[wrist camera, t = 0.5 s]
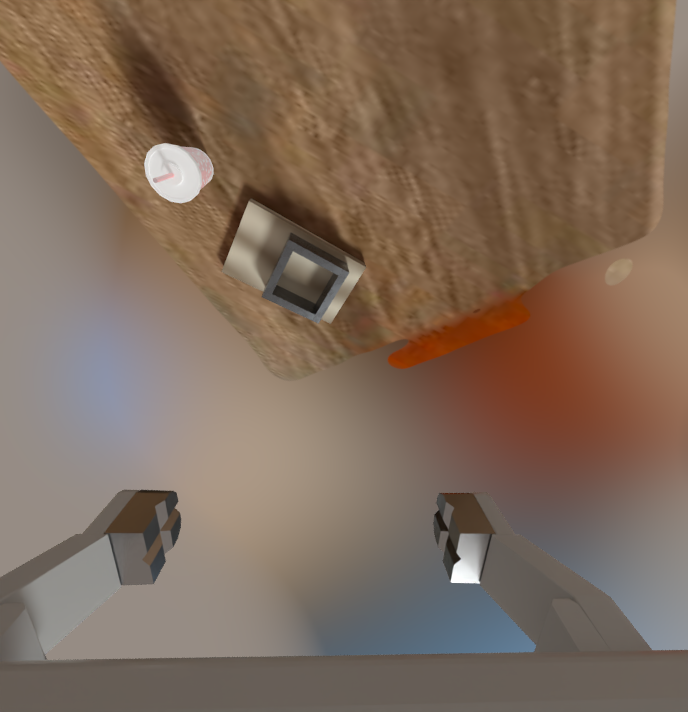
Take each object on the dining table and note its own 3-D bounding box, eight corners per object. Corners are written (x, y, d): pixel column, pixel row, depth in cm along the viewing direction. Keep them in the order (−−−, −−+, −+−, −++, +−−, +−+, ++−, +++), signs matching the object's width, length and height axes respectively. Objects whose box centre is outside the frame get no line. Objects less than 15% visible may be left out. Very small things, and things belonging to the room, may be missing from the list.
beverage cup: (228, 180, 46) (198, 197, 35) (192, 198, 47) (152, 221, 36) (200, 131, 43) (158, 133, 31) (162, 153, 44) (108, 162, 32)
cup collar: (290, 232, 49) (288, 239, 46) (347, 263, 52) (349, 272, 49) (265, 286, 54) (261, 296, 50) (318, 312, 57) (318, 323, 54)
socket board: (251, 198, 48) (248, 200, 46) (364, 263, 55) (366, 267, 53) (224, 267, 53) (221, 271, 52) (330, 318, 60) (330, 323, 59)
